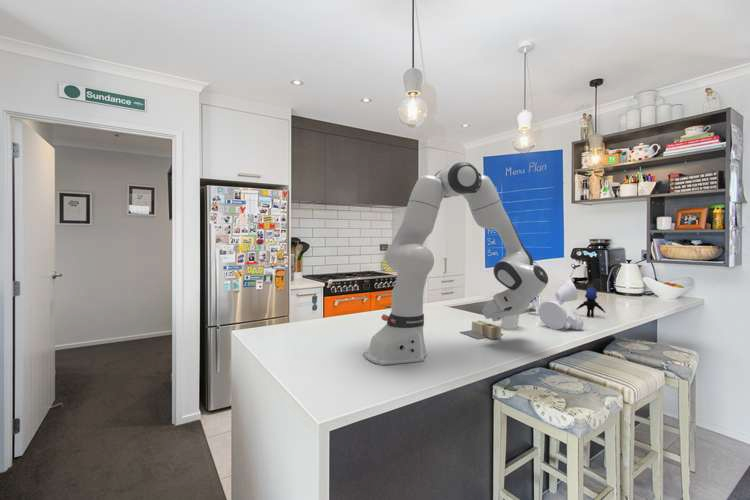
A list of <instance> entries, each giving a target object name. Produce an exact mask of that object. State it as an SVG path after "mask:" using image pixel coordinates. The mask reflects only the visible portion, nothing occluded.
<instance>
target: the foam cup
mask: <svg viewBox="0 0 750 500" xmlns="http://www.w3.org/2000/svg"><path fill="white" fill-rule="evenodd" d="M519 319H520V314H518V315H511V316H506V317H504V318H502V319H500V321H501V329H504V330H505V329H506V330H518V325H519V324H518V323H519Z"/></svg>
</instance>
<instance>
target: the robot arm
mask: <svg viewBox="0 0 750 500" xmlns="http://www.w3.org/2000/svg"><path fill="white" fill-rule="evenodd" d="M459 196H463V198H465V200H466V201H467V204H468V206H469V209H470V212H471V215H472V218H473V220H474V221H475V223H476V225H478V226H479V227H480V228H483V229H486V230H492V231H494V232H496V234H498V235H499V237H500V240H501V242H502V244H503V246H504V248H505V251H506V253H505V256H504V257H503V258H501V259H500V260H499V261H498V262H497V263H496V264H495V265H494V266H493V276H494V278H495V279H496V281H498V282H499V283H500V284H501V285H503V286H504V287H505V288H507V289H505V290H504V291H500V292H498V293H495V294H493V296H492V298H493V299H491V300H490V301H489V302H488V303H486V304H485V306H484V307H483V308H482V311H481V312H482V315H483V317H484V318H485V319H487V320H488V319H491V320H492V321H493V322H497V321H498V322H499V321H501V319H502V318H504V317H506V316H511V315H518V314H519V315H522V314H523V313H525V312H526V311H527V310H528V308H529V307H530V303H531V302H532V300H533V299H535V298H536V297H538V296H539V295H540V294H541V293H542V292H543V291H544V289H545V288H546V287H547V285H548V283H549V276H548V274H547V272H546V271H545V269H544V268H543V267H541V266H539V265H535V264H534V260H533V256H532V255H531V253H530V252H529V251H528V250H527V248H525V246H524V245H523V243H522V240H521V239H520V237H519V234H518V232H517V229H516V228H515V226H514V224H513V222H512V220H511V218H510V217H509V215H508V214H507V212H506V210H505V208H504V206H503V203H502V201H501V198H500V196H499V192H498V190H497V189H496V186H495V185H494V182H492V180H491V178H490V177H489V176H488V175H485V174H484V175H483V174H481V173H480V172H479V171H478V169H477V168H476V167H475V166H474V165H473V164H472V163H470V162H466V161H463V162H457V163H454V164H451V165H448V166H446V167H444V168H442V169H441V170H439V171H438V172H436V173H435V174H434V175H432V174H423V175H422V176H420V177H419V178H418V179H417V180H416V182H415V184H414V187H413V189H412V191H411V193H410V197H409V199H408V203H407V205H406V209H405V212H404V215H403V219H402V222H401V224H400V226H399V227H398V229H397V232H396V233H395V236H394V238H393V239H392V242H391V244H390V245H389V246H388V248H387V249H386V250H385V253H384V261H385V263H386V264H387V267H389V268H390V269H391V270H392V271H393V272H396V274H397V275H396V280H395V283H394V286H393V289H392V290H391V303H390V304H391V305H390V306H391V309H390V310H391V312H390V314H389V315H387V314H382V315H381V320H382V321H384V322H386V324H385V325H384V326H383V327H382V328H381V329H380V330H378V331H377V332H376V333H375V334H373V336H372V337H371V339H370V342H369V348H368V349H365V350H363V354H362V355H363V357H364V358H365V359H366V360H368V361H369V362H372V363H374V364H376V365H381V366H387V365H396V364H397V365H398V364H407V363H417V362H423V361H424V360H425V357H426V356H427V355H428V352H427V349H426V344H425V339H424V338H425V337H424V326H425V325H424V324H425V314H424V291H425V286H426V281H427V278H428V276H429V273H430V272H431V271H432V270H433V267H434V266H435V265H434V264H435V257H434V254H433V253H432V251H431V250H430V249H429V248H427V247H426V246H424V243H426V240H427V238H428V237H429V236H430V235H431V234H432V233H433V230H434V227H435V224H436V222H437V217H438V214H439V210H440V208H441V203H442V201H443V200H444V198H451V197H459Z"/></svg>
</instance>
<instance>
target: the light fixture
mask: <svg viewBox="0 0 750 500" xmlns="http://www.w3.org/2000/svg"><path fill="white" fill-rule="evenodd" d="M554 296H555V300H556V301H554V300H549V301H544V302H542V303H541V304H540V305H539V308H538V317H539V319H540V320H541V322H542V323H543V324H544V325H545V326H546V327H548V328H550V329H553V330H560V329H562V328H564V329H565V330H569V329H572V330H574V331H577V330H578V331H579V330H581V329H582V328H583V326H584V321H583V320H584V319H582V317H581V316H579V314H578V312H577V311H573V312H572V313H570V314H569V315H568V314H567V311H566V309H565V308H564V307H563V306H562V305H563V304H564V303H567V302H572V301H576V300H577V299H578V290H577V287H576V286H575V284H574V282H573V281H572V280H571V279H568V280H567V281H566V282H564V283H563V284H562V285H561V286H560V287H559V288H558V289H557V290H556V291H555V293H554Z"/></svg>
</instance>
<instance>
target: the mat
mask: <svg viewBox="0 0 750 500" xmlns="http://www.w3.org/2000/svg"><path fill="white" fill-rule="evenodd" d="M459 334H461V335H462V334H463V335H466V336H468V337H470V338H473V339H476V340H482V339H487V338H488V337H485V336H482V335H479V334H476V333H473V332H472V329H470V330H463V331H459ZM503 335H504V334H503V333H501V336H503ZM488 339H489V338H488Z"/></svg>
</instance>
